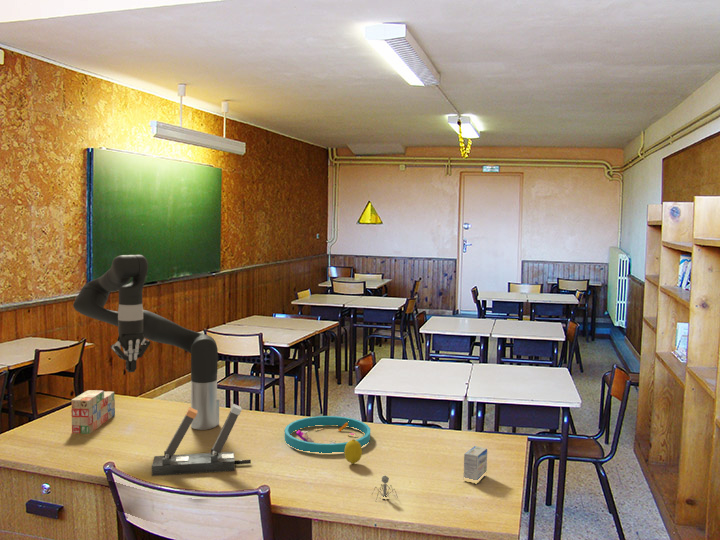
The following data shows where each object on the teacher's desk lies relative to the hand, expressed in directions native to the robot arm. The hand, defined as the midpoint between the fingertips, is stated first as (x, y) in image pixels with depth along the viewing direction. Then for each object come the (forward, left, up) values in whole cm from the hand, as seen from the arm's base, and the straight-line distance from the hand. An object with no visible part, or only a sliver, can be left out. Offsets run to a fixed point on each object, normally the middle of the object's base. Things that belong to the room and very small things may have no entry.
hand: (131, 371), depth 200 cm
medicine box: (-60, +91, -27) cm, 112 cm away
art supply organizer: (-54, +36, -28) cm, 70 cm away
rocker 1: (-1, +19, -23) cm, 30 cm away
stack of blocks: (-6, -37, -27) cm, 46 cm away
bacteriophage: (-31, +79, -27) cm, 89 cm away
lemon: (-43, +57, -27) cm, 76 cm away
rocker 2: (-12, +28, -23) cm, 38 cm away
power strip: (-9, +25, -27) cm, 38 cm away
